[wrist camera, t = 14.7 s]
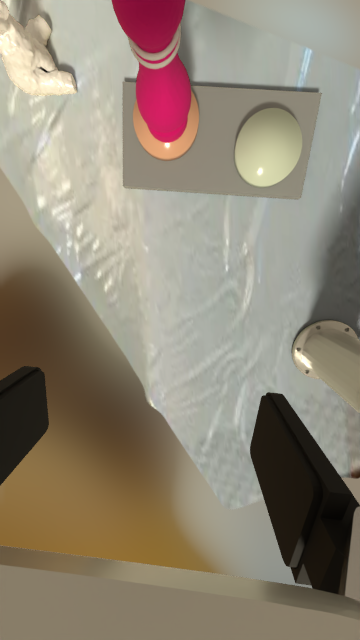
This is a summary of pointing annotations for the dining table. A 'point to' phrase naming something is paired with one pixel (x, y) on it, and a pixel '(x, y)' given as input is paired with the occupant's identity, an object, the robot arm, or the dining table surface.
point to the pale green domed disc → (267, 147)
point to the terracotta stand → (173, 148)
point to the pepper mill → (158, 64)
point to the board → (218, 143)
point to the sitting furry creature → (31, 57)
